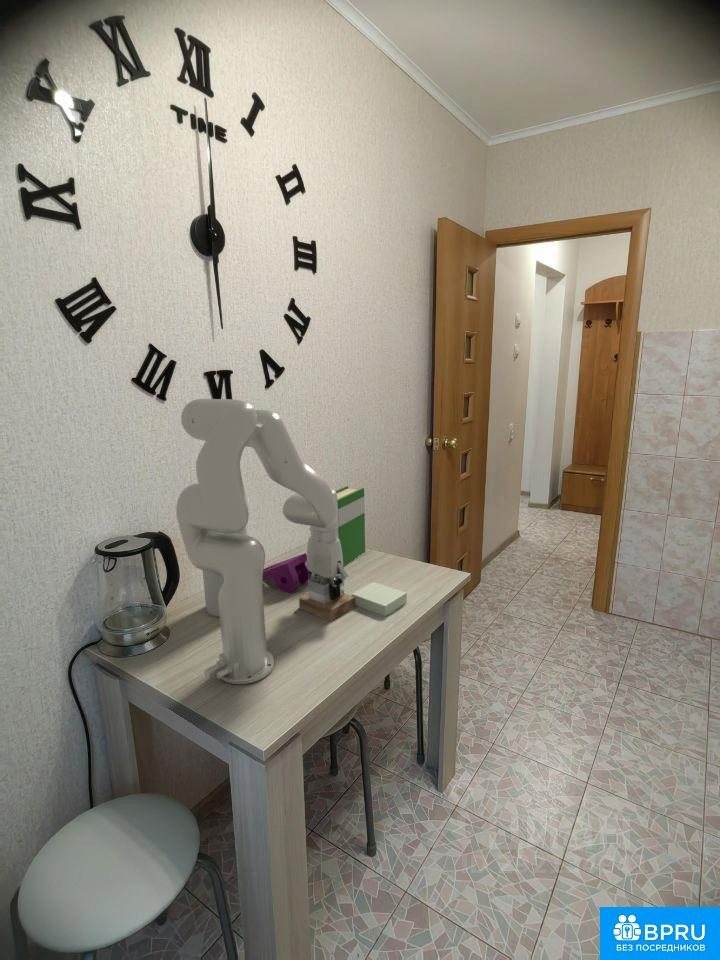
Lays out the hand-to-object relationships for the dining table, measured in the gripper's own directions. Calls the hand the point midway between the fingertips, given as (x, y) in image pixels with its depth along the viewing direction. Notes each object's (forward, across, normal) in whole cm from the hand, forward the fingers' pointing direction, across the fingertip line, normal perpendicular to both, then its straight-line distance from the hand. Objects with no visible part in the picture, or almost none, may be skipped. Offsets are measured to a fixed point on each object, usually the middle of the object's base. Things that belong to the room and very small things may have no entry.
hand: (326, 594), depth 137 cm
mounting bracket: (+4, -23, +3) cm, 24 cm away
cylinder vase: (+4, -22, -17) cm, 28 cm away
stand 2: (+4, +10, +11) cm, 15 cm away
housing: (+1, 0, 0) cm, 1 cm away
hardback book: (+4, -20, +30) cm, 36 cm away
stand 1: (+4, 0, 0) cm, 4 cm away
